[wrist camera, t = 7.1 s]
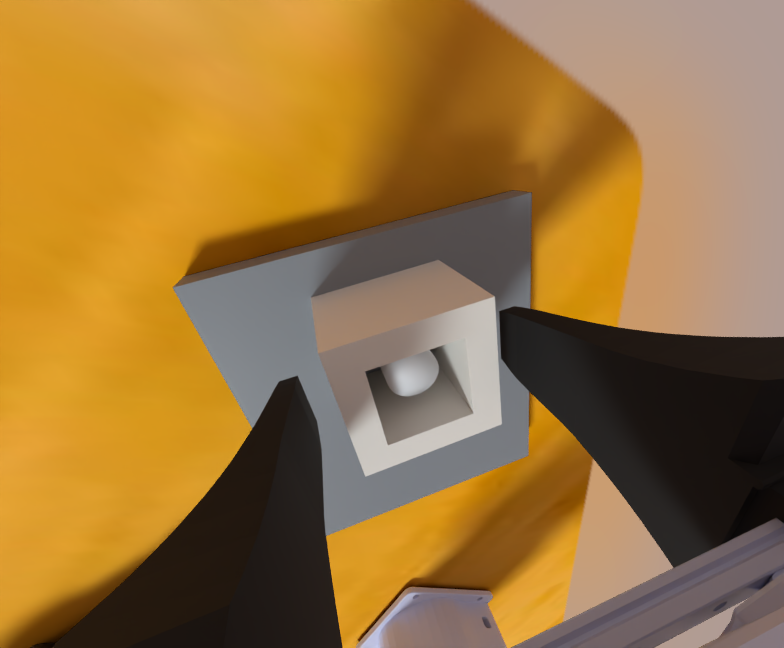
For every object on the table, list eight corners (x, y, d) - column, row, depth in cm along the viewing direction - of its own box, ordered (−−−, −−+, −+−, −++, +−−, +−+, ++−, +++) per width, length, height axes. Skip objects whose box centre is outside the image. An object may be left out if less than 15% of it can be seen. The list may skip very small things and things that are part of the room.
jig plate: (516, 440, 20) (564, 500, 17) (314, 519, 19) (319, 605, 15) (513, 190, 13) (596, 199, 10) (183, 276, 11) (132, 328, 8)
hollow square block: (453, 363, 15) (501, 424, 11) (347, 400, 14) (365, 476, 11) (438, 259, 12) (495, 296, 9) (310, 297, 12) (318, 353, 8)
